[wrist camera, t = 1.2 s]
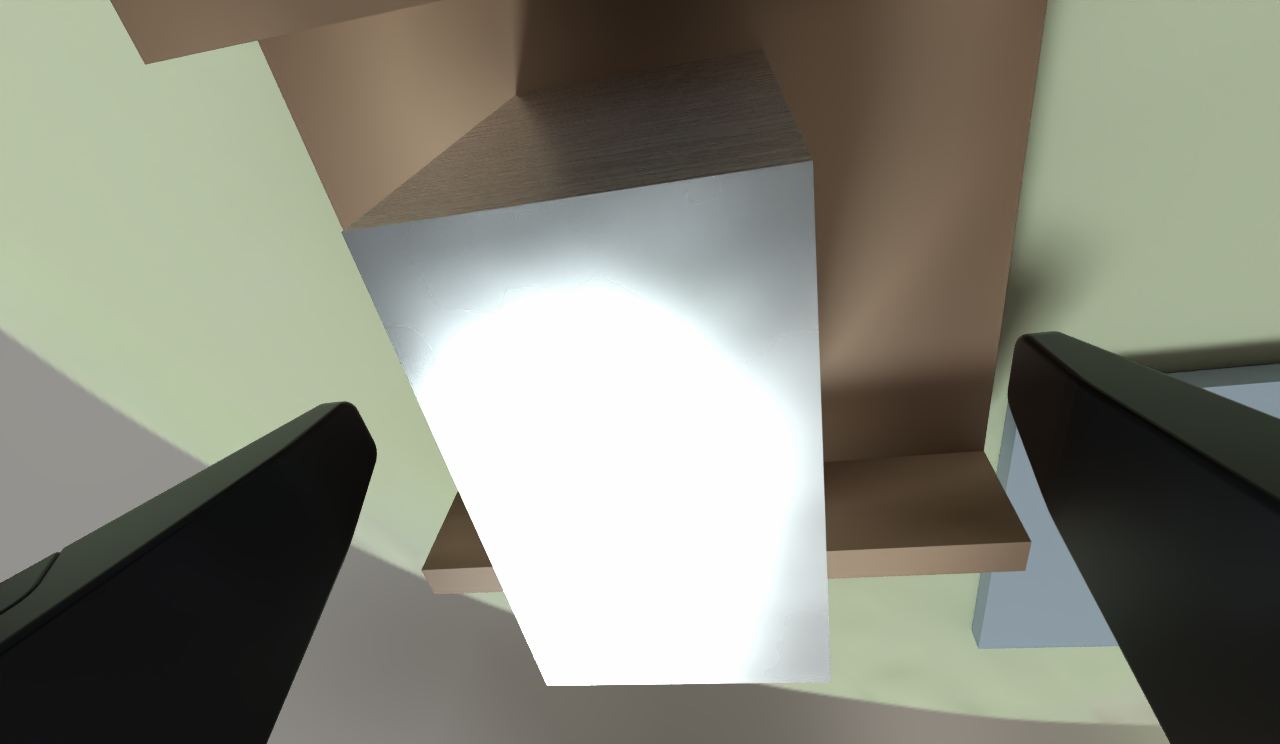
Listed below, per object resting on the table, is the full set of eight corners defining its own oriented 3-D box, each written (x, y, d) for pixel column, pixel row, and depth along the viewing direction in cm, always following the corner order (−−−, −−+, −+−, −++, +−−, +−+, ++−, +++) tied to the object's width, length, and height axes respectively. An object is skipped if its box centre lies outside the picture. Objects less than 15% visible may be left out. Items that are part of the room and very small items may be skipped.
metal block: (762, 48, 10) (813, 160, 5) (788, 411, 14) (830, 681, 9) (516, 94, 11) (341, 232, 6) (604, 426, 14) (547, 685, 9)
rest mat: (1436, 349, 13) (1464, 366, 13) (1279, 623, 18) (1295, 642, 17) (1010, 386, 14) (1021, 402, 14) (971, 630, 19) (978, 648, 19)
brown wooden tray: (1030, -215, 9) (1212, -300, 6) (957, 441, 15) (1023, 577, 12) (279, -35, 11) (96, -25, 8) (489, 475, 18) (437, 599, 14)
